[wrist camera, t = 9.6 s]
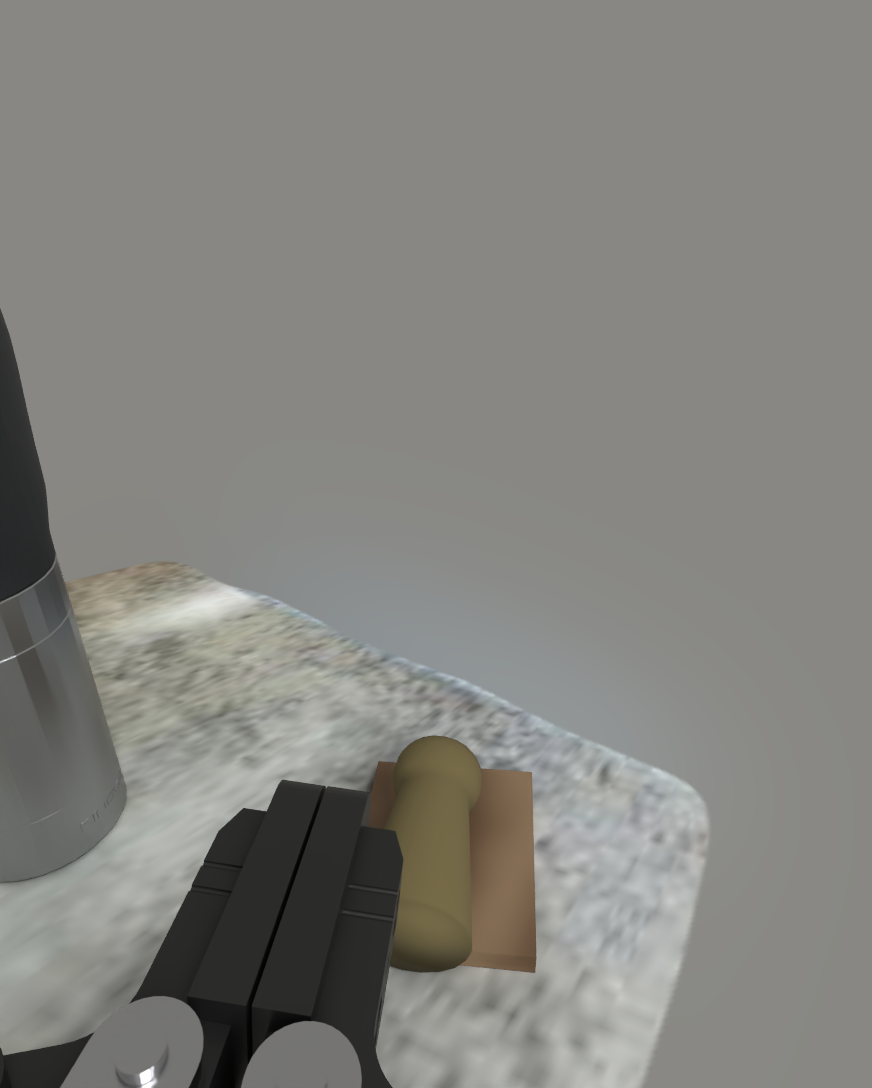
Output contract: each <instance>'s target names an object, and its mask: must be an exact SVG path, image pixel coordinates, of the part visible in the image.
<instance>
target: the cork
mask: <svg viewBox="0 0 872 1088" xmlns="http://www.w3.org/2000/svg"><path fill="white" fill-rule="evenodd" d="M393 777H394V791H395V794H396V796H397V799H396V801H395V804H394V806H393V809H392V811H391V813H390V816H389V818H388V821H387V823H386V826H385V828H384V829H386V830H393V831H396V834H397V838H398V841H399V845H400V849H401V852H402V856H403V859H404V860H403V870H402V879H401V888H400V898H399V907H398V917H397V925H396V931H395V937H394V943H393V949H392V955H391V961H390V966H393V967H396V968H399V969H402V970H408V971H415V972H440V971H444V970H448V969H452V968H455V967H457V966H458V965H460V964H462V963H463V962H465V961H466V960H467V958H468V957H469V955H470V954H471V952H472V911H471V870H470V829H469V811H471V810H472V809H473V808H474V806H475V804H476V802H477V800H478V797H479V795H480V793H481V786H482V773H481V768H480V765H479V763H478V761H477V758H476V757H475V756H474V754H473V753H472V752H471V751H470V750H469V748H468V747H467V746H465V745H464V744H462V743H460V742H459V741H457V740H454V739H451V738H448V737H444V736H427V737H422V738H420V739H418V740H416V741H414V742H412V743H411V744H409V745H408V746H407V747H406V748H405V749H404V750H403V751H402V753H401V754H400V756H399V758H398V760H397V763H396V765H395V769H394V773H393Z"/></svg>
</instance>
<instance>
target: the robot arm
mask: <svg viewBox="0 0 872 1088" xmlns="http://www.w3.org/2000/svg"><path fill="white" fill-rule="evenodd" d="M125 801H126V785H125V782H124V778H123V775H122V772H121V768H120V765H119V762H118V758H117V755H116V752H115V748H114V745H113V741H112V738H111V734H110V731H109V728H108V724H107V721H106V718H105V714H104V711H103V708H102V704H101V701H100V698H99V694H98V691H97V688H96V684H95V681H94V678H93V674H92V671H91V668H90V664H89V661H88V658H87V654H86V651H85V648H84V644H83V641H82V638H81V634H80V631H79V628H78V624H77V621H76V618H75V614H74V611H73V608H72V604H71V601H70V599H69V595H68V592H67V589H66V585H65V582H64V579H63V575H62V572H61V569H60V566H59V562H58V559H57V555H56V552H55V549H54V545H53V542H52V538H51V535H50V530H49V522H48V507H47V497H46V488H45V482H44V478H43V474H42V470H41V466H40V462H39V458H38V454H37V450H36V447H35V442H34V438H33V434H32V429H31V425H30V421H29V416H28V412H27V408H26V403H25V398H24V394H23V389H22V385H21V380H20V375H19V371H18V366H17V362H16V358H15V354H14V351H13V346H12V343H11V339H10V335H9V332H8V329H7V327H6V324H5V321H4V318H3V315H2V312H1V310H0V882H9V881H21V880H25V879H29V878H34V877H38V876H41V875H44V874H46V873H49V872H51V871H54V870H56V869H59V868H61V867H63V866H65V865H66V864H68V863H70V862H72V861H74V860H76V859H77V858H79V857H80V856H82V855H83V854H84V853H86V852H87V851H89V850H90V849H91V848H93V847H94V846H95V845H96V844H97V843H98V842H99V841H100V840H101V839H102V838H104V837H105V836H106V835H107V834H108V832H109V831H110V830H111V828H112V827H113V826H114V825H115V823H116V822H117V820H118V818H119V816H120V815H121V813H122V811H123V809H124V805H125ZM370 805H371V793H370V792H363V791H357V790H350V789H343V788H336V787H330V786H328V787H327V788H326V787H325V786H321V785H315V784H308V783H301V782H295V781H288V780H282V781H281V782H280V783H279V785H278V787H277V789H276V791H275V794H274V796H273V798H272V801H271V803H270V805H269V808H268V810H267V812H266V811H260V810H253V809H246V808H243V809H242V810H241V811H240V812H239V813H238V814H237V815H236V816H234V817H233V818H232V819H231V820H230V821H229V822H228V823H227V824H226V825H225V826H224V827H223V828H222V829H220V830H219V832H218V834H217V836H216V838H215V840H214V842H213V844H212V846H211V848H210V850H209V852H208V854H207V856H206V858H205V860H204V864H203V866H201V868H200V870H199V872H198V874H197V876H196V878H195V880H194V882H193V884H192V888H191V890H190V891H189V892H188V894H187V896H186V898H185V900H184V902H183V904H182V906H181V908H180V910H179V912H178V914H177V916H176V918H175V920H174V922H173V924H172V926H171V928H170V930H169V932H168V934H167V935H166V937H165V939H164V941H163V943H162V945H161V947H160V949H159V951H158V953H157V955H156V957H155V959H154V961H153V963H152V965H151V967H150V969H149V971H148V973H147V975H146V977H145V979H144V981H143V983H142V985H141V987H140V989H139V990H138V992H137V994H136V995H135V997H134V998H133V999H132V1001H131V1002H130V1003H129V1004H128V1005H126V1006H124V1007H122V1008H121V1009H119V1010H118V1011H116V1012H115V1013H113V1014H112V1015H111V1016H110V1017H109V1018H108V1019H106V1020H105V1021H104V1022H103V1023H102V1024H101V1025H100V1027H99V1028H98V1029H97V1030H96V1031H95V1032H94V1033H92V1034H90V1035H88V1036H86V1037H84V1038H81V1039H79V1040H76V1041H73V1042H69V1043H66V1044H62V1045H57V1046H51V1047H46V1048H41V1049H36V1050H30V1051H25V1052H20V1053H15V1054H9V1055H4V1056H3V1054H2V1050H1V1048H0V1088H392V1086H391V1085H390V1084H389V1082H388V1081H387V1079H386V1078H385V1076H384V1074H383V1072H382V1070H381V1068H380V1065H379V1062H378V1059H377V1055H376V1045H377V1039H378V1033H379V1027H380V1021H381V1015H382V1009H383V1003H384V997H385V991H386V984H387V979H388V973H389V967H390V961H391V955H392V949H393V943H394V937H395V931H396V925H397V917H398V907H399V898H400V888H401V879H402V870H403V860H404V859H403V856H402V852H401V849H400V845H399V841H398V838H397V834H396V831H393V830H386V829H380V828H373V827H369V818H370Z"/></svg>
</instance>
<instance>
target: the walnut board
mask: <svg viewBox="0 0 872 1088" xmlns="http://www.w3.org/2000/svg"><path fill="white" fill-rule="evenodd" d="M395 765H396V763H394V762H380V761H379V762H378V766H377V770H376V774H375V778H374V782H373V786H372V790H371V805H370V818H369V827H373V828H380V829H384V828H385V826H386V823H387V821H388V818H389V816H390V813H391V811H392V809H393V806H394V804H395V801H396V799H397V796H396V794H395V791H394V777H393V773H394V769H395ZM481 773H482V786H481V793H480V795H479V797H478V800H477V802H476V804H475V806H474V808H473V809H472V810H471V811H469V829H470V870H471V911H472V952H471V954H470V955H469V957H468V958H467V960H466V961H465V962H463V963H462V964H460V965H465V966H475V967H485V968H494V969H504V970H514V971H524V972H534V973H535V967H536V924H535V883H534V841H533V800H532V772H521V771H507V770H493V769H481Z"/></svg>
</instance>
